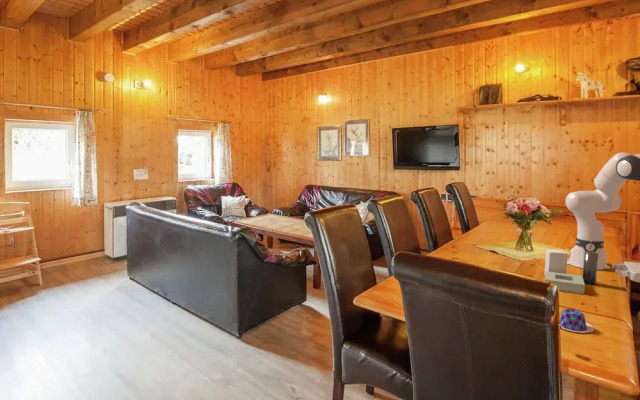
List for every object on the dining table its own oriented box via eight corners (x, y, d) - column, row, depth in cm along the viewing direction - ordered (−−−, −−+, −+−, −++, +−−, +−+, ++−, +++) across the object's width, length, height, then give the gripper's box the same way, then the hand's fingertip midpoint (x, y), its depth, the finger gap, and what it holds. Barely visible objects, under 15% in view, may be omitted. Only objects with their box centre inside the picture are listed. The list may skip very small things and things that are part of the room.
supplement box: (566, 280, 177) (568, 253, 176) (547, 279, 179) (549, 252, 178) (561, 276, 184) (563, 249, 183) (543, 274, 186) (545, 248, 185)
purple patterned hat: (551, 329, 127) (552, 314, 127) (550, 316, 138) (551, 302, 137) (596, 338, 122) (597, 321, 121) (591, 323, 132) (593, 308, 131)
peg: (581, 281, 177) (584, 250, 175) (595, 282, 174) (597, 252, 173) (582, 284, 173) (585, 253, 171) (596, 286, 170) (598, 254, 169)
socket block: (544, 279, 179) (545, 271, 178) (581, 284, 172) (582, 275, 171) (544, 288, 166) (545, 279, 166) (584, 294, 160) (584, 284, 159)
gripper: (650, 260, 170) (610, 256, 177) (662, 272, 153) (618, 267, 160) (648, 274, 171) (609, 269, 178) (660, 288, 153) (616, 282, 160)
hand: (613, 268), depth 169 cm, fingers open, 8 cm apart
